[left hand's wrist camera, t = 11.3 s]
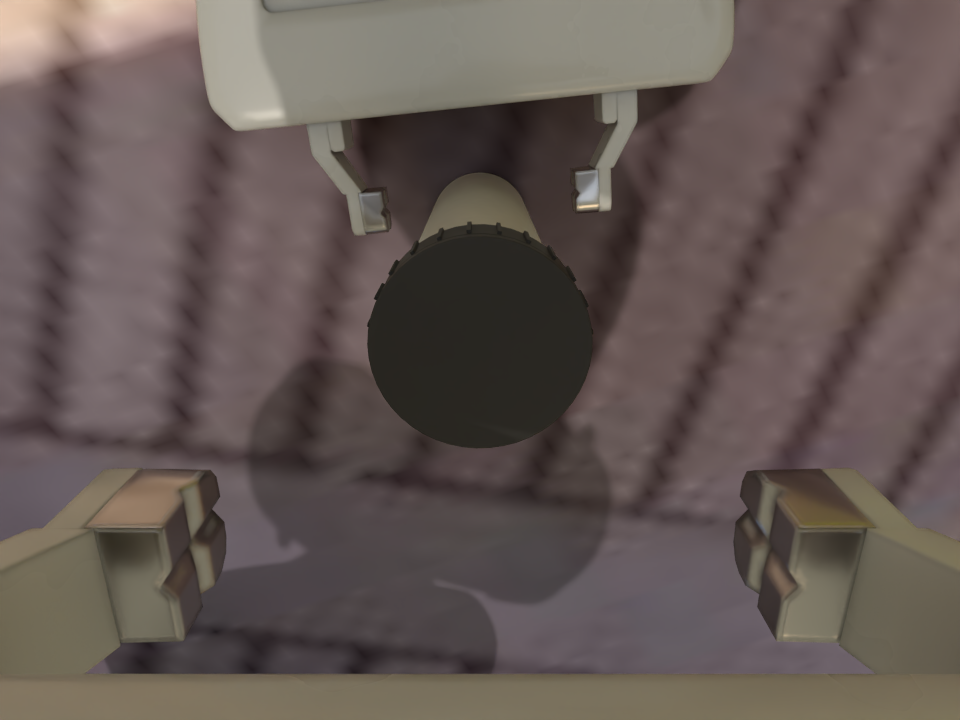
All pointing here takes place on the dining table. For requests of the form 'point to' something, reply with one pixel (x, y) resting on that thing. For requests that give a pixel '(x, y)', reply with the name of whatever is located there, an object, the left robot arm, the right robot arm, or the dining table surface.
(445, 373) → the lid
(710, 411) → the dining table surface
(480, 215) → the cream cylinder
